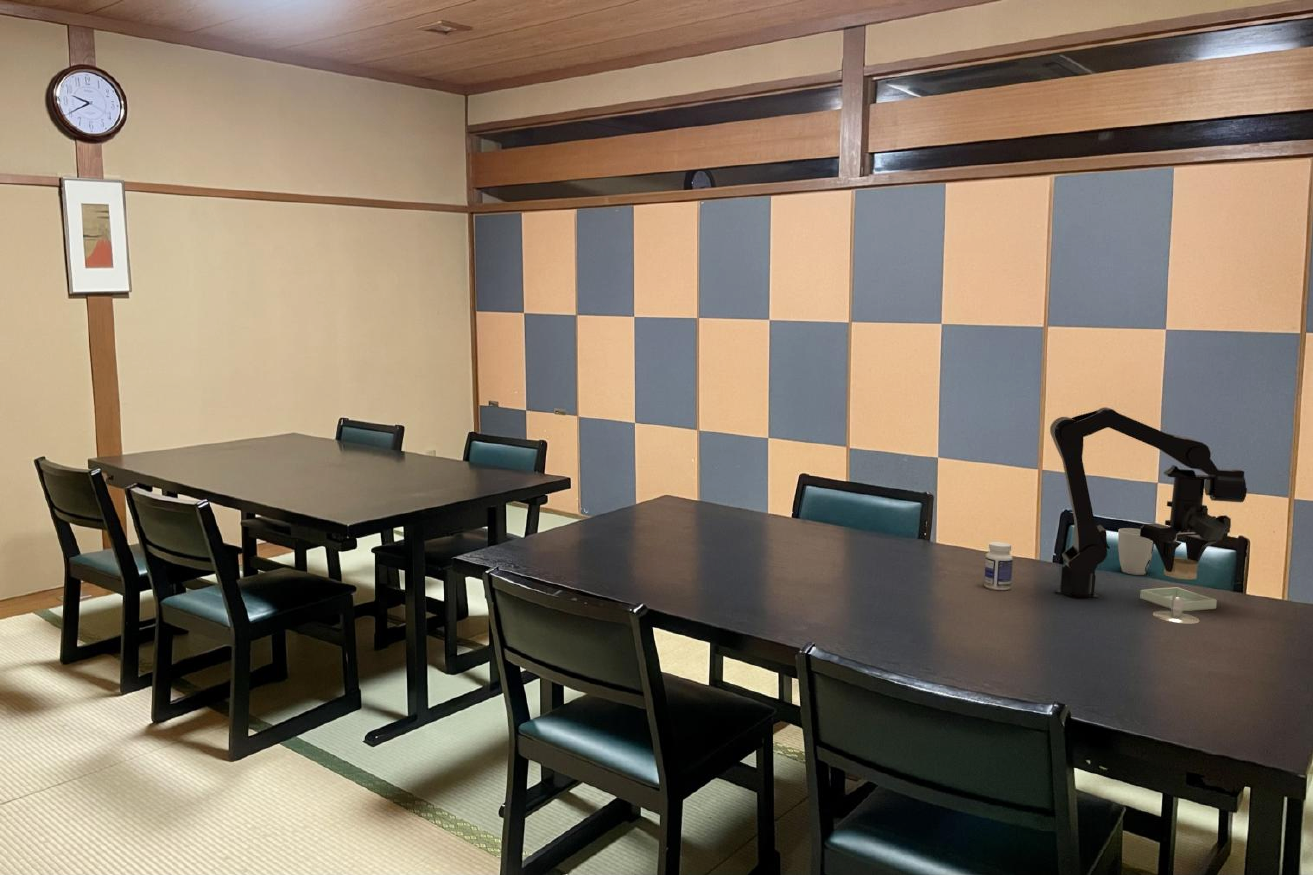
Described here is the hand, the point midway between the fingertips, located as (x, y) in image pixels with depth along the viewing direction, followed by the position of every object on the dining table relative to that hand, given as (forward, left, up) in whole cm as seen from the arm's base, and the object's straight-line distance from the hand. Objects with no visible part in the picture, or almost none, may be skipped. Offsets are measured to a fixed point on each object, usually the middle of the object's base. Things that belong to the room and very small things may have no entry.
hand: (1180, 570), depth 210 cm
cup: (+13, +25, -8) cm, 29 cm away
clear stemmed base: (-9, -8, -7) cm, 14 cm away
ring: (0, 0, -1) cm, 1 cm away
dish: (0, 0, -8) cm, 8 cm away
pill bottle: (-30, +21, -8) cm, 37 cm away
